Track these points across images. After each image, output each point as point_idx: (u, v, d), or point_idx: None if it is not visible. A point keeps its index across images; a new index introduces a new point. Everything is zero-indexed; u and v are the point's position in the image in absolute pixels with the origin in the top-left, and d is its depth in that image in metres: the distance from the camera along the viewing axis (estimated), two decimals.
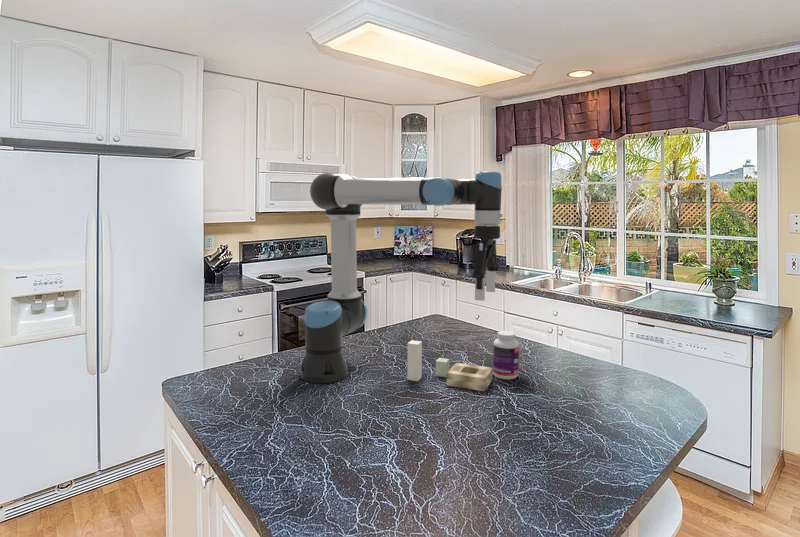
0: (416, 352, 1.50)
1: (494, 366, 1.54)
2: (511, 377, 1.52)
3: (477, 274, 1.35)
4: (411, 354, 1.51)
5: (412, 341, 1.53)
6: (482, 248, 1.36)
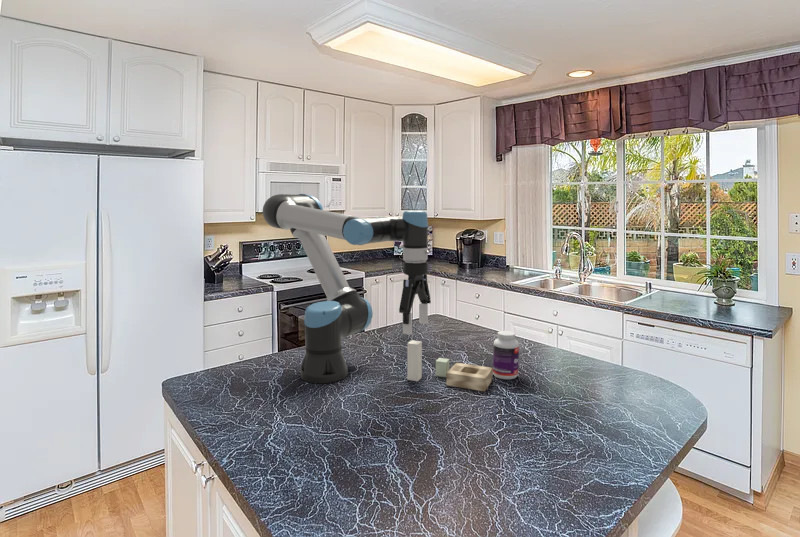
0: (416, 352, 1.50)
1: (494, 366, 1.54)
2: (511, 377, 1.52)
3: (402, 310, 1.41)
4: (411, 354, 1.51)
5: (412, 341, 1.53)
6: (408, 285, 1.42)
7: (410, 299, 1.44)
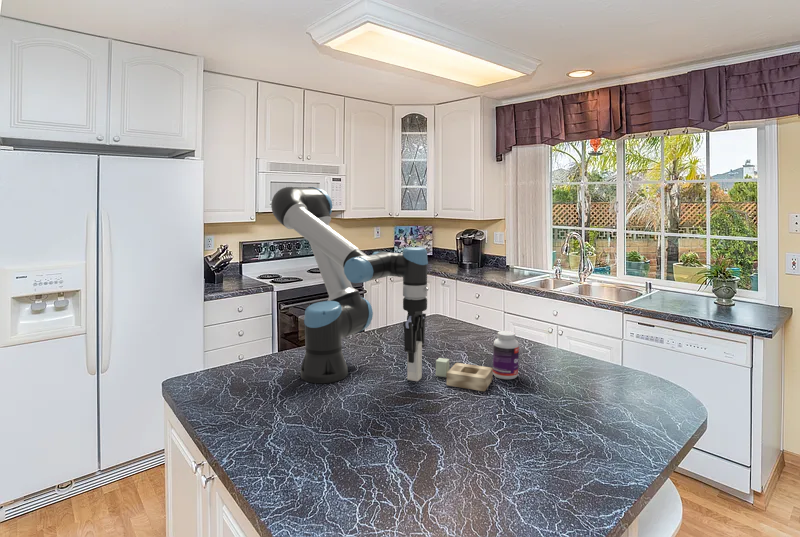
0: None
1: (494, 366, 1.54)
2: (511, 377, 1.52)
3: (408, 351, 1.47)
4: None
5: None
6: (408, 327, 1.45)
7: (413, 338, 1.48)
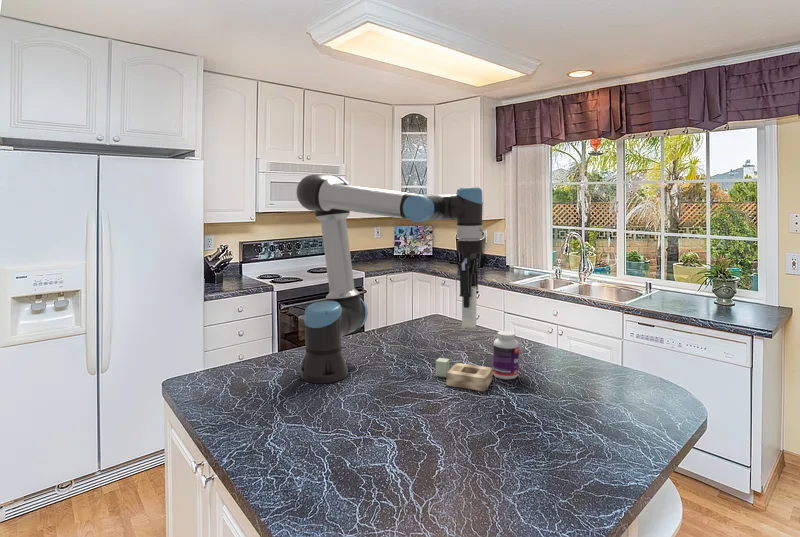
0: None
1: (494, 366, 1.54)
2: (511, 377, 1.52)
3: (464, 294, 1.41)
4: None
5: None
6: (465, 269, 1.39)
7: (468, 282, 1.43)
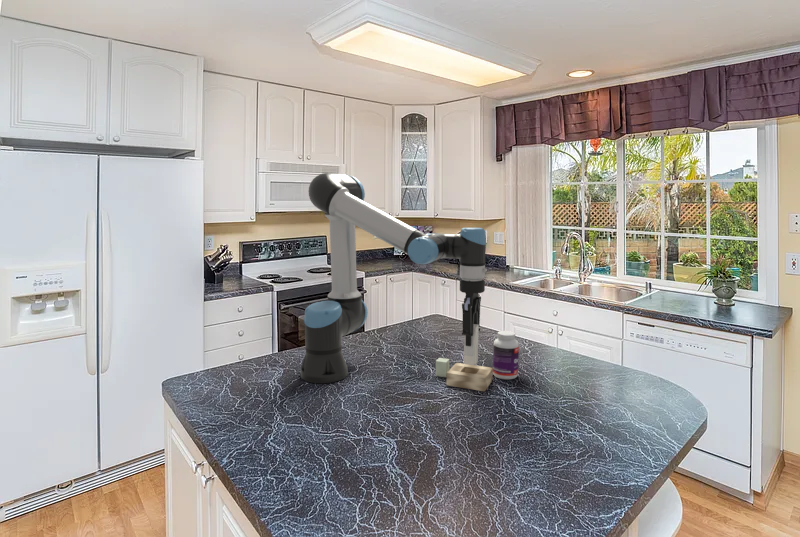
0: (474, 335, 1.46)
1: (494, 366, 1.54)
2: (511, 377, 1.52)
3: (466, 333, 1.43)
4: None
5: None
6: (467, 309, 1.41)
7: None
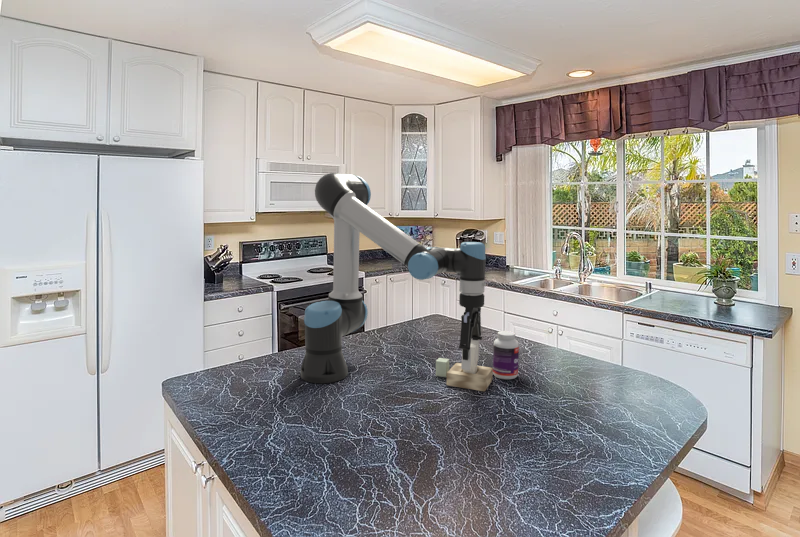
0: (473, 355, 1.47)
1: (494, 366, 1.54)
2: (511, 377, 1.52)
3: (463, 347, 1.41)
4: None
5: None
6: (466, 321, 1.41)
7: None
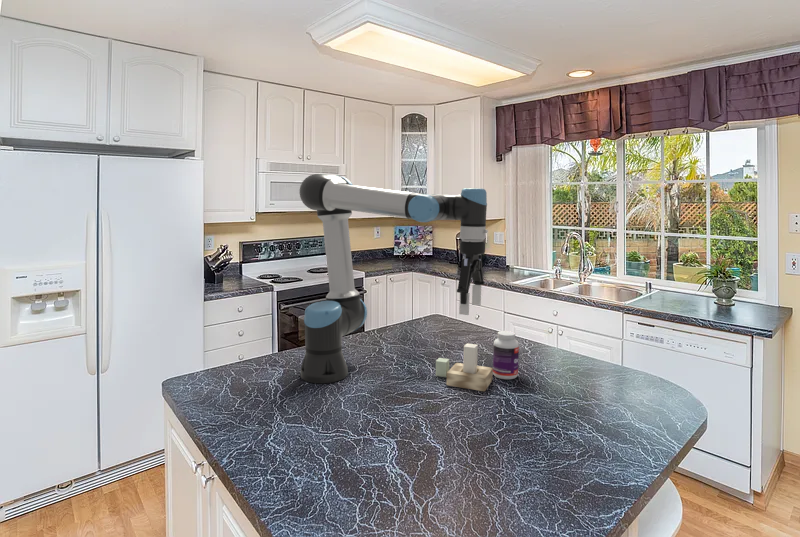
0: (473, 355, 1.47)
1: (494, 366, 1.54)
2: (511, 377, 1.52)
3: (461, 289, 1.37)
4: (467, 357, 1.48)
5: (468, 344, 1.49)
6: (467, 264, 1.39)
7: None
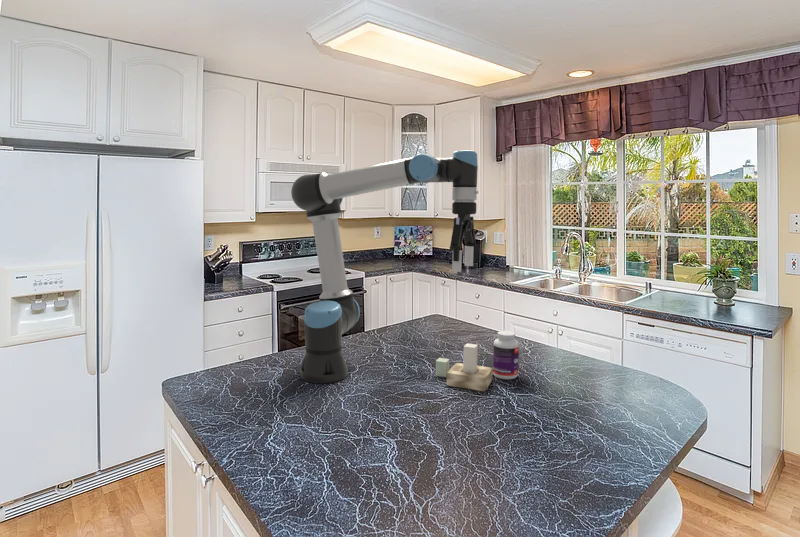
0: (473, 355, 1.47)
1: (494, 366, 1.54)
2: (511, 377, 1.52)
3: (454, 246, 1.43)
4: (467, 357, 1.48)
5: (468, 344, 1.49)
6: (459, 222, 1.45)
7: None
